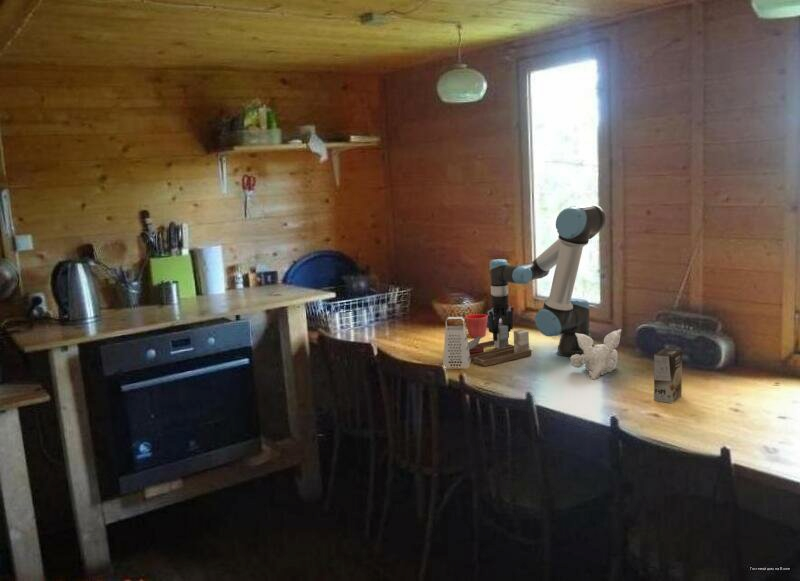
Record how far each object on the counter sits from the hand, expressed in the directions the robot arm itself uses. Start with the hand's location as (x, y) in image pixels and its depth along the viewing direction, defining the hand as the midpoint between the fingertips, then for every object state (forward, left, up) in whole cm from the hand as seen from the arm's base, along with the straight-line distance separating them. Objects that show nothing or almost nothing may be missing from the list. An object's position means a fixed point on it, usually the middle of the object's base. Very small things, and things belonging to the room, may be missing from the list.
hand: (501, 346), depth 320 cm
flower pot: (+26, -6, -1) cm, 27 cm away
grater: (-8, +29, -1) cm, 30 cm away
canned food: (0, +16, -1) cm, 16 cm away
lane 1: (0, +10, -1) cm, 11 cm away
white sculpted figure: (-53, -5, -1) cm, 53 cm away
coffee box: (-90, -1, -1) cm, 90 cm away
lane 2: (-14, +11, -1) cm, 18 cm away
